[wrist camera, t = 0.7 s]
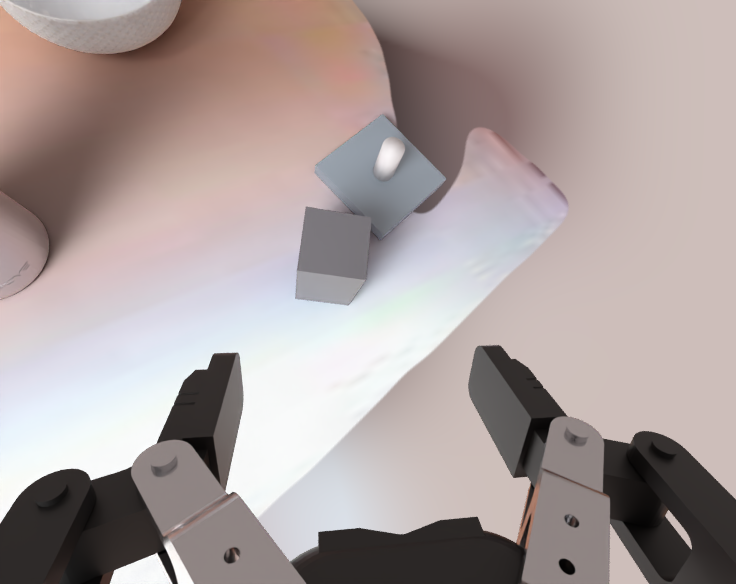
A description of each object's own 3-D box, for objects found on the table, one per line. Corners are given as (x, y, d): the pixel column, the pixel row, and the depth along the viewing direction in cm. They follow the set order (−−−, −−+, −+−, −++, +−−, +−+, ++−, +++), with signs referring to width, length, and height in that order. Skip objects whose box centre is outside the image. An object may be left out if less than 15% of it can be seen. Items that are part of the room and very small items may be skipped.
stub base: (314, 172, 42) (318, 138, 36) (379, 122, 45) (392, 83, 39) (380, 240, 42) (394, 216, 36) (441, 185, 44) (464, 155, 39)
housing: (295, 298, 38) (297, 270, 29) (302, 248, 40) (305, 206, 31) (348, 305, 39) (366, 280, 30) (353, 255, 41) (371, 217, 31)
